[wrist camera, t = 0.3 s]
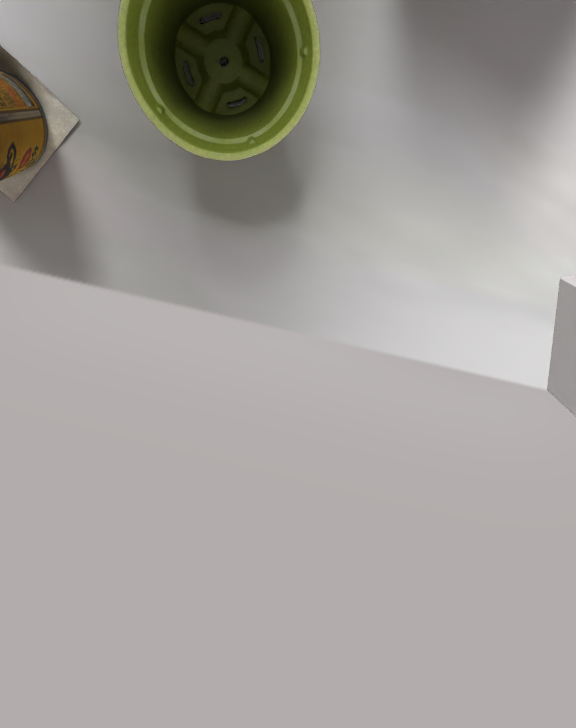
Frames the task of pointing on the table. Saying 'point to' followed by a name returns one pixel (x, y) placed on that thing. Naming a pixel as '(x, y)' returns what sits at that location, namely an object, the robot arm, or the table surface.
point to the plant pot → (221, 70)
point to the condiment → (27, 125)
